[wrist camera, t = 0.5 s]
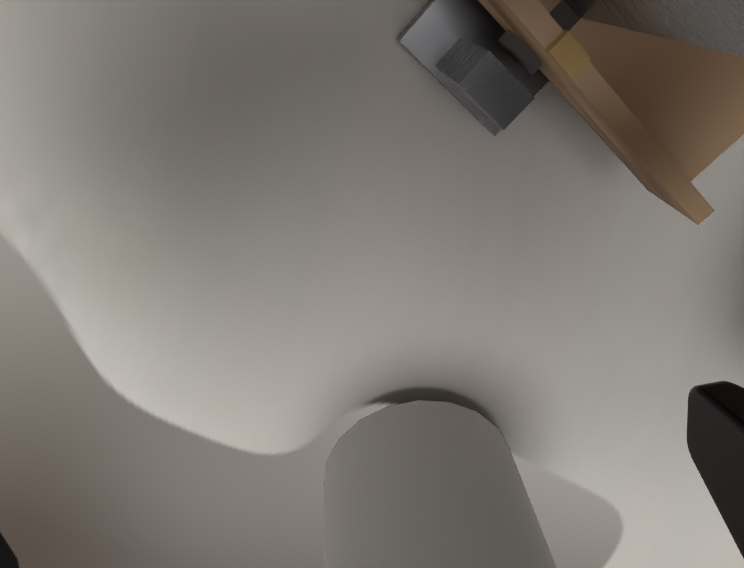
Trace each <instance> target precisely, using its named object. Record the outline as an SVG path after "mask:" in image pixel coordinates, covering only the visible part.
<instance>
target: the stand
mask: <svg viewBox="0 0 744 568" xmlns="http://www.w3.org/2000/svg"><path fill="white" fill-rule="evenodd" d="M505 32H506V31H505V30H504V29H503V28H502V27H501V25H500V24H499V23H498V22H497V21H496V20H495V19H494V18H493V16H492V15H491V14H490V13H489V12H488V11H487V10H486V9H485V8H484V6H483V5H482V4H481V3H480V2H479V1H478V0H430V1H429V2H428V3H427V4H426V5H425V6H424V8H423V9H422V10H421V11H420V12H419V13H418V15H417V16H416V17H415V18H414V19H413V20H412V22H411V23H410V24H409V25H408V26H407V27H406V29H405V30H404V31H403V32H402V33H401V34H400V36H399V37H398V38H397V40H398V41H399V42H400V43H401V44H402V45H403V46H404V47H405V48H406V49H407V50H408V51H409V52H410V53H411V54H412V55H413V56H414V57H415V58H416V59H417V60H418V61H419V62H420V63H421V64H422V65H423V66H424V67H425V68H426V69H427V70H428V71H429V72H430V73H431V74H432V75H433V76H434V77H435V78H436V79H437V80H438V81H439V82H440V83H441V84H442V85H443V86H444V87H445V88H446V89H447V90H449V91H450V92H451V93H452V94H453V95H454V96H455V97H456V98H457V99H458V100H459V101H460V102H461V103H462V104H463V105H464V106H465V107H466V108H467V109H468V110H469V111H470V112H471V113H472V114H473V115H474V116H475V117H476V118H477V119H478V120H479V121H480V122H481V123H482V124H483V125H484V126H485V127H486V128H487V129H488V130H489V131H490V132H491V133H492V134H493V135H494V136H496V135H497V134H498V133H499V132H500V130H501V129H505V128H506V127H507V126H508V125H509V124H510V123H511V122H512V121H513V120H514V119H515V118H516V117H517V116H518V115H519V113H520V112H521V111H522V110H523V109H524V108H525V107H526V106H527V105H528V104H529V103H530V102H531V101H532V100H533V99H534V97H533V96H534V95H535V94H536V93H537V92H538V91H539V90H540V89H541V88H542V87H543V86H544V85H545V84H546V83H547V82H548V81H549V79H548V78H547V77H546V76H545V75H544V74H543V72H542V71H541V70H540V69H538V70H537V71H536V72H535V73H534V74H533V75H531V74H529V73H528V72H527V71H525V70H524V69H523V68H522V67H521V66H520V65H518V64H517V63H516V62H515V61H514V60H513V59H512V58H511V57H510V56H509V54H508V53H507V52H506V51H505V50H504V49H503V48H502V46H501V45H500V44H499V42H498V40H499V38H500V37H501V36H502V35H503V34H504V33H505Z"/></svg>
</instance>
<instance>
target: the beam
mask: <svg viewBox="0 0 744 568" xmlns="http://www.w3.org/2000/svg"><path fill="white" fill-rule="evenodd" d="M478 1H479V2H480V3H481V4H482V5H483V6H484V8H485V9H486V10H487V11H488V12H489V13H490V14H491V15H492V16H493V18H494V19H495V20H496V21H497V22H498V23H499V24H500V25H501V27H502V28H503V29H504V30H505V31H506V32H505V33H504V34H503V35H502V36H501V37H500V38H499V40H498V42H499V44H500V45H501V46H502V48H503V49H504V50H505V51H506V52H507V53H508V54H509V56H510V57H511V58H512V59H513V60H514V61H515V62H516V63H517V64H518V65H520V66H521V67H522V68H523V69H524V70H525V71H527V72H528V73H529V74H531V75H533V74H534V73H535V72H536V71H537V70H538V69H540V70H541V71H542V72H543V74H544V75H545V76H546V77H547V78H548V79H549V80H550V81H551V83H552V84H553V85H554V86H555V87H556V88H557V89H558V90H559V91H560V93H561V94H562V95H563V96H564V97H565V98H566V99H567V100H568V102H569V103H570V104H571V105H572V106H573V107H574V108H575V109H576V110H577V112H578V113H579V114H580V115H581V116H582V117H583V118H584V119H585V121H586V122H587V123H588V124H589V125H590V126H591V127H592V128H593V130H594V131H595V132H596V133H597V134H598V135H599V136H600V137H601V138H602V140H603V141H604V142H605V143H606V144H607V145H608V146H609V147H610V149H611V150H612V151H613V152H614V153H615V154H616V155H617V156H618V157H619V159H620V160H621V161H622V162H623V163H624V164H625V165H626V166H627V168H628V169H629V170H630V171H631V172H632V173H633V174H634V175H635V177H636V178H637V179H638V180H639V181H640V182H641V183H642V184H643V185H644V187H645V188H646V189H647V190H648V191H650V192H651V193H653V194H654V195H656V196H657V197H658V198H660V199H661V200H663V201H664V202H666V203H667V204H669V205H670V206H672V207H673V208H674V209H676V210H677V211H679V212H680V213H682V214H683V215H685V216H686V217H688V218H689V219H690V220H692V221H693V222H695V223H696V224H698V225H699V224H700V223H701V222H702V221H703V220H704V219H706V218H707V217H708V216H709V215H710V214H711V213H712V212H714V210H713V208H712V207H711V206H710V205H709V204H708V203H707V201H706V200H705V199H704V198H703V197H702V195H701V194H700V193H699V192H698V191H697V189H696V188H695V187H694V186H693V185H692V183H691V182H690V181H691V180H692V179H694V178H695V177H696V176H697V175H698V174H699V173H700V172H701V171H703V170H704V169H705V168H706V167H707V166H708V165H709V164H710V163H711V162H713V161H714V160H715V159H716V158H717V157H718V156H719V155H720V154H722V153H723V152H724V151H725V150H726V149H727V148H728V147H729V146H731V145H732V144H733V143H734V142H735V141H736V140H737V139H738V138H740V137H741V136H742V135H743V134H744V57H741V56H737V55H733V54H729V53H725V52H720V51H716V50H712V49H708V48H704V47H700V46H696V45H691V44H687V43H683V42H679V41H675V40H671V39H666V38H662V37H658V36H654V35H650V34H646V33H641V32H637V31H633V30H629V29H625V28H621V27H616V26H612V25H608V24H604V23H600V22H596V21H591V20H587V19H583V18H579V17H578V16H577V15H576V14H575V13H574V12H573V10H572V9H571V8H570V7H569V5H568V4H567V3H566V2H565V1H564V0H478Z"/></svg>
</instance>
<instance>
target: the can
mask: <svg viewBox="0 0 744 568" xmlns="http://www.w3.org/2000/svg"><path fill="white" fill-rule="evenodd" d="M324 568H556V565H555V563H554V560H553V558H552V555H551V552H550V550H549V547H548V545H547V542H546V540H545V537H544V535H543V532H542V530H541V527H540V525H539V522H538V520H537V517H536V514H535V512H534V509H533V507H532V504H531V502H530V499H529V497H528V494H527V492H526V489H525V487H524V484H523V481H522V479H521V476H520V474H519V471H518V469H517V466H516V464H515V461H514V459H513V456H512V454H511V451H510V449H509V447H508V445H507V443H506V441H505V440H504V438H503V436H502V435H501V433H500V431H499V430H498V428H497V427H496V426H495V425H493V424H492V423H491V422H490V421H488V420H487V419H486V418H484V417H483V416H482V415H480V414H479V413H478V412H477V411H474V410H471V409H468V408H465V407H462V406H459V405H456V404H454V403H451V402H440V401H423V400H417V401H412V402H407V403H402V404H397V405H392V406H387V407H385V408H383V409H381V410H379V411H377V412H375V413H373V414H371V415H369V416H367V417H365V418H363V419H361V420H359V421H358V422H357V423H356V424H355V425H354V426H353V427H352V428H351V429H350V430H348V431H347V432H346V433H345V434H344V435H343V436H342V437H341V438H340V439H339V440H338V442H337V444H336V445H335V447H334V449H333V451H332V453H331V455H330V456H329V458H328V460H327V464H326V473H325V482H324Z"/></svg>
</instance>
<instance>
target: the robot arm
mask: <svg viewBox="0 0 744 568" xmlns="http://www.w3.org/2000/svg"><path fill="white" fill-rule="evenodd" d="M687 444H688V448H689V452H690V454H691V457H692V459H693V461H694V463H695V465H696V467H697V469H698V471H699V473H700V475H701V477H702V479H703V481H704V483H705V484H706V486H707V488H708V490H709V492H710V494H711V496H712V498H713V500H714V502H715V504H716V506H717V508H718V510H719V512H720V514H721V516H722V518H723V519H724V521H725V523H726V525H727V527H728V529H729V531H730V533H731V535H732V537H733V539H734V541H735V543H736V545H737V547H738V549H739V551H740V553H741V554H742V556H743V558H744V388H743V387H740V386H738V385H736V384H733V383H730V382H727V381H719V382H714V383H708V384H703V385H697V386H695V387H693V388H692V389H691V390H690V393H689V397H688V418H687ZM0 568H19V562H18V558H17V556H16V554H15V553H14V551H13V550H12V548H11V547H10V545H9V544H8V542H7V541H6V539H5V538H4V536H3V535H2V533H1V531H0Z"/></svg>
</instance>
